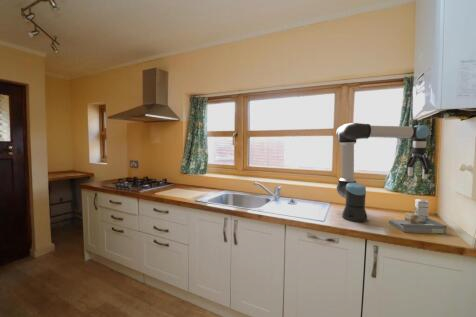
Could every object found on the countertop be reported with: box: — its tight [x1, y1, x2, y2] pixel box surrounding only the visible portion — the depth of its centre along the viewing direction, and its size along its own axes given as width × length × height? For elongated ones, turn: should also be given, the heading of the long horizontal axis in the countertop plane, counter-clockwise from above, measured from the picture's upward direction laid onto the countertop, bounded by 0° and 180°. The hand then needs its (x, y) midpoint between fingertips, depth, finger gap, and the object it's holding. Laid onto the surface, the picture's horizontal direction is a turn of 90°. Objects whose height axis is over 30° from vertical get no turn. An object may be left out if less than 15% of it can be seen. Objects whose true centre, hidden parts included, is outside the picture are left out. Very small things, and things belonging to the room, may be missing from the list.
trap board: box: [388, 217, 447, 234], centre depth 134 cm, size 23×14×4 cm, turn 86°
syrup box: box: [414, 198, 430, 221], centre depth 144 cm, size 6×6×14 cm
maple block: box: [404, 212, 419, 224], centre depth 137 cm, size 5×5×5 cm
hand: (417, 177), depth 158 cm, fingers open, 13 cm apart
